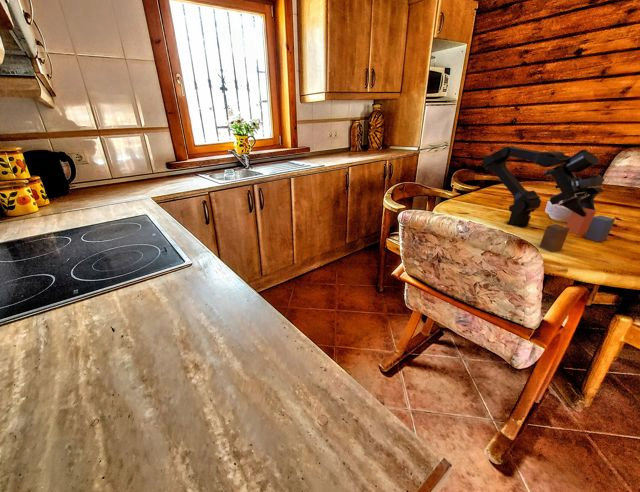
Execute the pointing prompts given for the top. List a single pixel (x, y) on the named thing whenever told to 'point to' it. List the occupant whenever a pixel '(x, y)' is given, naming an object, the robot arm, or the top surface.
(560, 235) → the walnut block
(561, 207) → the paper bowls
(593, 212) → the terracotta block
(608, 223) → the slate block
